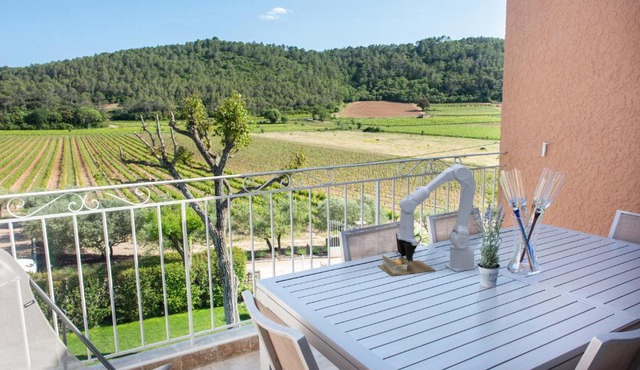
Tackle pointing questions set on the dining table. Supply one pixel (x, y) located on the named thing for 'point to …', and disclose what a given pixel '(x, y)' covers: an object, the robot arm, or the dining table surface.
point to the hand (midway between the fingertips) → (406, 257)
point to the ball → (398, 262)
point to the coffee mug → (398, 239)
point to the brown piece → (403, 267)
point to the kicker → (405, 260)
